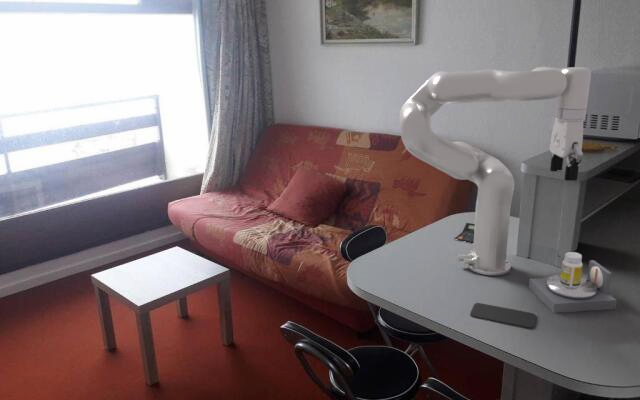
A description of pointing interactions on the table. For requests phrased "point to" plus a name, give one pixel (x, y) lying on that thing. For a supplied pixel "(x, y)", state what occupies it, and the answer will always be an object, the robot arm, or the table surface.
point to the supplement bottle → (571, 270)
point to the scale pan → (581, 292)
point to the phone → (503, 315)
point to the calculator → (467, 233)
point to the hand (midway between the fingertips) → (562, 175)
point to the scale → (564, 304)
